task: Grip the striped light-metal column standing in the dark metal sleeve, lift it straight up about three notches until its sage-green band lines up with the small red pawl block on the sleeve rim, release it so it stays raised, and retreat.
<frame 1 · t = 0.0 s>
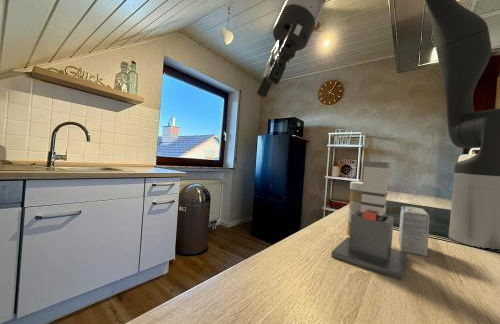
hand: (265, 90, 42), 31 cm above the countertop, tool tilted 20°, fingers open, 8 cm apart
column: (373, 206, 41), point 10 cm above the countertop, slide at 0.0 cm
sprinkles bottle: (356, 235, 54), on the countertop
stand base: (369, 257, 41), on the countertop
medicine box: (411, 249, 47), on the countertop
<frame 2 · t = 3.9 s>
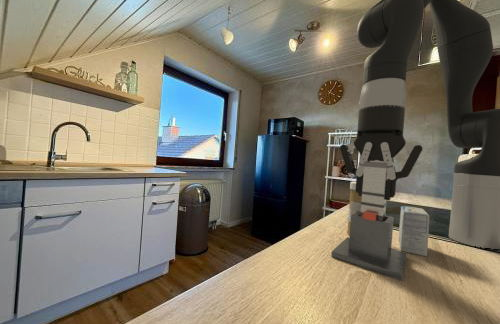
hand: (374, 197, 41), 12 cm above the countertop, tool pointing down, fingers closed on column, 3 cm apart
column: (373, 206, 41), point 10 cm above the countertop, slide at 0.0 cm, touching gripper
everything else where it was.
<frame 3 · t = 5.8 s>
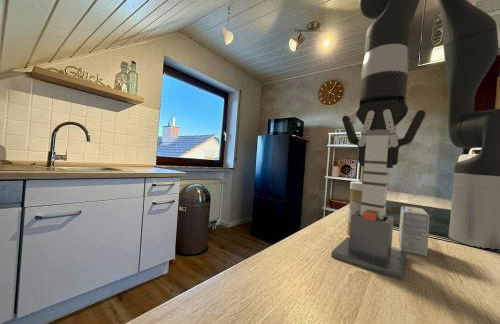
hand: (376, 166, 41), 18 cm above the countertop, tool pointing down, fingers closed on column, 3 cm apart
column: (375, 175, 41), point 16 cm above the countertop, slide at 5.9 cm, touching gripper
everything else where it was.
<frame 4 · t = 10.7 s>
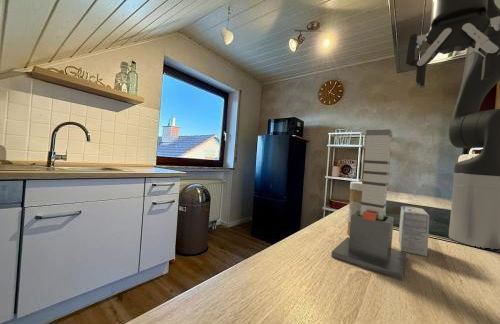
hand: (451, 83, 40), 34 cm above the countertop, tool pointing down, fingers open, 8 cm apart
column: (375, 175, 41), point 16 cm above the countertop, slide at 6.0 cm
everything else where it was.
at the end: column slide at 6.0 cm; the gripper is holding nothing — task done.
